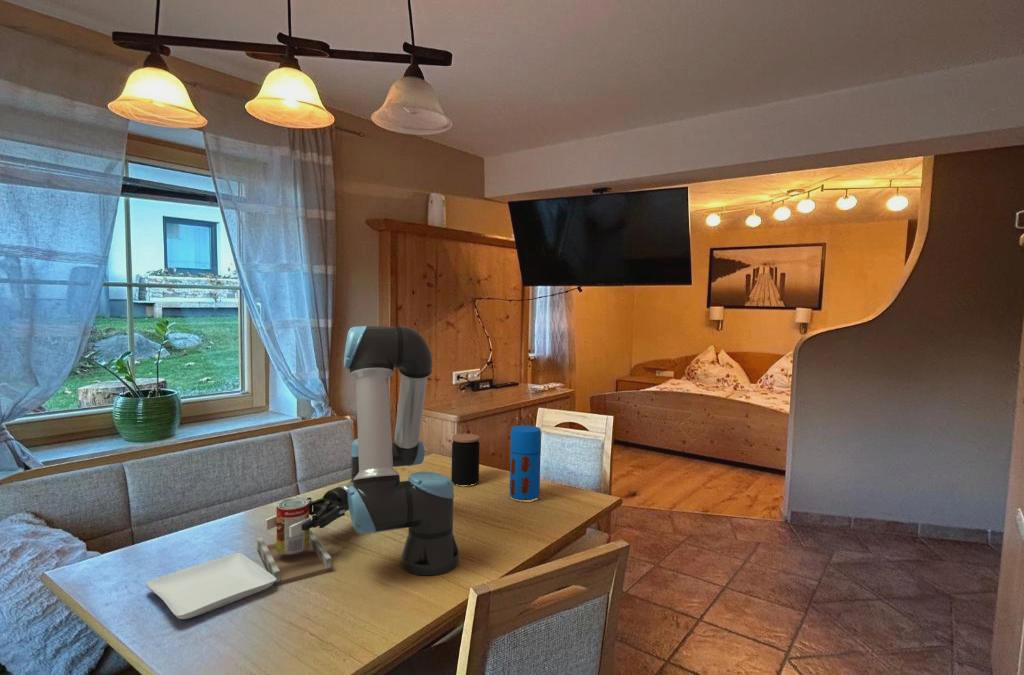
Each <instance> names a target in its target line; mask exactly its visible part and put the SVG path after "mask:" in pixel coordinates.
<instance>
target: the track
mask: <svg viewBox="0 0 1024 675" xmlns="http://www.w3.org/2000/svg"><path fill="white" fill-rule="evenodd" d="M256 540H257V541H256V542H257V543H256V545H257V547H256V548H257V550H256V551H257V554H258V555H259V558H260V559H261V562H262V563H263V566H264V569H265V570H266V571H267V572H269V573H270V574H272V575H273V576H274V577H276V581H275V582H274V583H273V584H272V586H274V587H278V586H281V585H285V584H289V583H292V582H296V581H300V580H303V579H307V578H310V577H315V576H318V575H322V574H327V573H330V572H332V556H331V555H330V554H329V553H328V552H327V550H326V548H324V546H323V545H322V543H321V542H320V541H319V540H318V538H317V537H316V536H315V534H314V533H313V531H312V530H311V528H310V529H309V547H308V548H307V549H306V550H304V551H302V552H299V553H296V554H281V553H279V552H277V542H274V543H270V544H266V541H265V540H264V539H263V537H257V538H256Z"/></svg>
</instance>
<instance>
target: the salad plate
mask: <svg viewBox="0 0 1024 675" xmlns="http://www.w3.org/2000/svg"><path fill="white" fill-rule="evenodd" d="M275 581H276V577H274V576H273V575H272V574H270V573H269V572H267V570H266V568H264V567H262V566H260V565H259V564H257V563H256V562H255V561H253V560H251V559H250V558H248V557H247V556H246V555H244V554H243V553H242V552H236V553H235V552H234V553H231V554H229V555H225V556H223V557H218V558H216V559H212V560H210V561H206V562H203V563H200V564H197V565H194V566H191V567H187V568H184V569H181V570H178V571H175V572H172V573H168V574H166V575H162V576H159V577H157V578H154V579H150V580H148V581H147V582H146V583H145V586H146V587H147V588H148V589H149V590H150V591H151V592H152V593H154V595H156V596H158V597H159V599H161V601H162V602H163V603H164V604H165V605H166V606H167V608H168V609H169V610H170V611H171V613H172V614H173V615H174V616H175V617H176V618H177V619H179V620H180V619H181V620H186V619H192V618H194V617H197V616H201V615H203V613H204V614H206V612H207V613H209V612H211V611H214V610H217V609H219V608H222V607H224V606H227V605H230V604H232V603H234V602H237V601H239V600H242V599H244V598H247V597H249V596H252V595H254V594H257V593H260V592H262V591H265V590H266V589H268V588H269V587H271V586H273V583H274V582H275Z"/></svg>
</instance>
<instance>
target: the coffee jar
mask: <svg viewBox="0 0 1024 675" xmlns="http://www.w3.org/2000/svg"><path fill="white" fill-rule="evenodd" d="M480 438H481V437H480V436H479V435H478V434H473V433H458V434H457V433H456V434H454V435H452V437H451V440H452V443H451V476H450V477H451V478H450V479H451V480H452V482H453V483H454V484H458V485H471V484H475V483H477V484H478V483H479V481H480V442H479V441H480ZM454 484H453V485H454Z"/></svg>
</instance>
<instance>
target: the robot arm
mask: <svg viewBox="0 0 1024 675" xmlns="http://www.w3.org/2000/svg"><path fill="white" fill-rule="evenodd" d="M395 368H398V373H399V374H400V375H401V376H400V384H399V394H398V402H397V412H396V422H395V428H394V429H395V432H394V438H393V440H394V441H392V422H391V404H390V384H389V379H391V377H392V376H393V375H394V374H395V373H394V371H395V370H394V369H395ZM343 369H346V370H347V371H348V370H349V376H350V377H351V378H352V380H354V381H355V387H356V388H355V392H356V393H355V394H356V395H355V396H356V418H357V419H356V420H357V438H356V439H354V440H353V441H352V443H351V453H350V456H351V458H350V461H351V466H350V467H351V476H350V477H351V478H350V480H351V481H347V482H346V483H343V484H341V485H338V486H336V487H334V488H332V489H330V490H327V491H326V492H325V493H324V495H323V496H322V498H321V497H320V498H318V499H316V500H312V497H306V499H308V500H309V517H308V518H306V519H304V520H302V521H300V522H298V523H295V524H293V525H291V526H289V537H293V536H295V535H297V534H299V533H301V532H304V531H306V530H308V529H310V530H311V529H312V528H317V527H318V528H319V529H323V528H326V526H328V525H330V524H331V523H332V522H334V521H335V520H337V519H339V518H341V517H343V516H345V514H346V512H348V511H349V516H350V521H351V524H352V528H353V529H354V531H355V532H356V533H357V534H362V535H363V534H376V533H380V532H388V531H395V530H401V529H408V532H407V533H408V534H407V536H406V540H405V543H404V546H403V550H402V552H401V558H400V559H401V562H400V565H401V567H402V568H403V569H404V570H405V571H407V572H408V573H410V574H414V575H419V576H436V575H437V576H438V575H442V574H444V573H448V572H450V571H452V570H454V568H456V567H457V566H458V564H459V562H460V551H459V547H458V545H457V542H456V541H457V540H456V538H455V535H454V530H453V529H454V498H455V493H454V484H453V482H452V480H451V478H450V477H448V476H447V475H445V474H442V473H439V472H433V471H415V472H412V473H411V474H409V476H408V479H407V480H404V481H403V480H402V481H401V480H400V477H401V475H400V473H399V472H398V471H397V470H395V469H394V468H397V467H398V468H400V467H411V466H417V465H421V464H423V462H424V461H425V460H424V459H425V448H424V443H423V442H422V441H421V440H420V432H421V424H422V418H423V412H424V405H425V404H424V403H425V397H426V388H427V382H428V378H429V377H430V376H431V374H432V369H433V356H432V352H431V349H430V346H429V344H428V343H427V341H426V339H425V338H424V337H423V336H422V335H421V334H420V333H419V332H418V331H417V330H415V329H413V328H411V327H408V326H403V325H400V326H387V325H386V326H381V325H380V326H379V325H376V326H375V325H374V326H373V325H372V326H371V325H363V326H352V327H350V329H349V330H348V332H347V337H346V342H345V348H344V358H343ZM310 516H311V517H310ZM275 527H276V528H277V514H274V515H272V516H270V517H268V518H265V519H264V530H265V531H269V530H271V529H275Z"/></svg>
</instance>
